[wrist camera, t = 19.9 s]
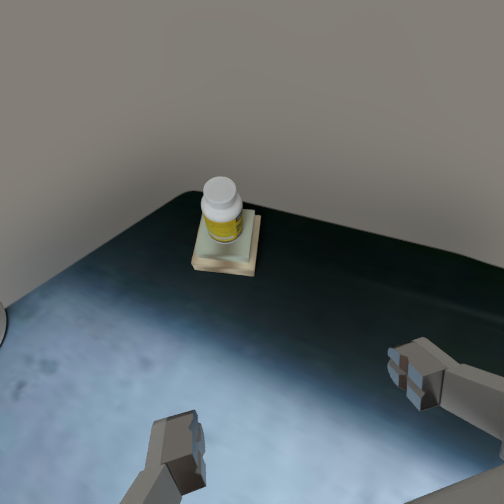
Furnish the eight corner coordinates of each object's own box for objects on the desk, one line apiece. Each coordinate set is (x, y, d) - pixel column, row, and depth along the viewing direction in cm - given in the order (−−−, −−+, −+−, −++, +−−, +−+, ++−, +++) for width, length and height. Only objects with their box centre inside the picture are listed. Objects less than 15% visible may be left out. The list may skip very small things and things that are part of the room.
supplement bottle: (243, 245, 39) (241, 208, 30) (206, 245, 39) (194, 208, 30) (243, 214, 41) (242, 171, 32) (209, 214, 41) (198, 171, 32)
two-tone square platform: (194, 269, 43) (187, 255, 38) (206, 218, 48) (200, 199, 42) (254, 276, 43) (254, 263, 38) (260, 224, 47) (261, 205, 42)
